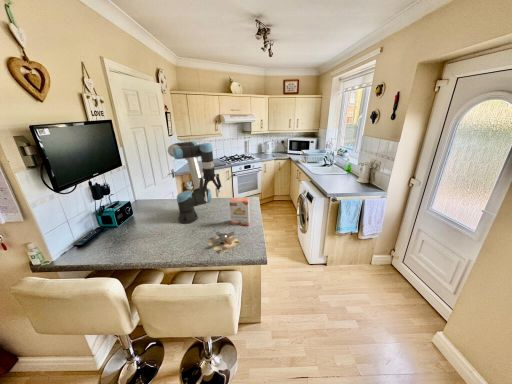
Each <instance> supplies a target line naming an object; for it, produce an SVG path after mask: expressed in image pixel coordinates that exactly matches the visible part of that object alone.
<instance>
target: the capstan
mask: <svg viewBox="0 0 512 384" xmlns="http://www.w3.org/2000/svg"><path fill="white" fill-rule="evenodd" d="M215 233H216V234H215V235H216V236H217V237H220V238H218V239H216V240H213V241H212V244H213V245H214V244H216V243H219V242H220V243H221V244H229V245H231V244H232V242H231V241H230V240H229V239H228V238H229V237H231V236H233V237H234V235H235V232H234V231H231V232H228V233H229V234H226V233H227V232H222V233H221V232H220V231H216V232H215Z"/></svg>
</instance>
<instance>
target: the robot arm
mask: <svg viewBox="0 0 512 384" xmlns="http://www.w3.org/2000/svg"><path fill="white" fill-rule="evenodd" d="M212 146H213V145H212V144H211V143H210V142H203V143H199V144H198V143H197V142H195V141H185V142H176V143H173V144H171V145H169V146H168V149H167V153H168V155H169V156H170V157H173V158H174V159H175V160H183V159H184V160H185V161H187V165H188V167H189V168H188V169H189V172H190V176H191V180H192V184H193V189H192V191H191V190H184V191H182V192H179V193H178V194H177V195H176V201H177V206H178V212H179V213H178V217H177V218H178V222H179V223H180V224H182V225H185V224H186V225H187V224H191V223H194V222H196V221H197V220H198V219H199V218H198V217H199V216H198V213H197V212H196V210H195V207H198V206H202V205H206V204H209V203H211V201H212V192H211V189H210V188H208V187H207V186H208V184H209V182H212V184H214V186H215V197H216V198H220V194H219V193H220V192H221V191H220V189H221V188H222V187H223V186H222V183H221V180H220V179H221V178H220V174H219V173H215V164H214V163H215V161H214V154H213V147H212ZM199 157H200V158H201V166H200V163H199V159H198V158H199ZM201 167H202V170H201Z"/></svg>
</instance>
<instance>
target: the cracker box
mask: <svg viewBox="0 0 512 384" xmlns="http://www.w3.org/2000/svg"><path fill="white" fill-rule="evenodd" d="M229 213H230V224H231V225H239V226H243V227H244V226H247V227H249V226H250V221H251V220H250V219H251V217H250V214H251V213H250V198H241V197H239V198H235V197H234V198H233V197H230V199H229Z"/></svg>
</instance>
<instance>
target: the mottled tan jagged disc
mask: <svg viewBox="0 0 512 384" xmlns="http://www.w3.org/2000/svg"><path fill="white" fill-rule="evenodd" d="M225 233H226V234H229V233H230V232H225ZM218 238H220V237H219V236H217V237H215V238H212V239H210V240H209V241H208V240H207V241H206V244H208V245H209V246H210V248H212V249H213V250H214V251H215V252H216V253H217V254H219V255H222V254H224V253H225V252H227V251H229V250H231V249H233V248H235V247H238V245H241V244H242V242H241V241H240V240H239V239H237V238H236V237H235V236H234V235H233V236H231V237H229V238H228V239H229V240H230V241H231V242H232V244H231V245H229V244H221V243H220V242H219V243H216V244H214V245H213V244H212V241H213V240H216V239H218Z"/></svg>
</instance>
